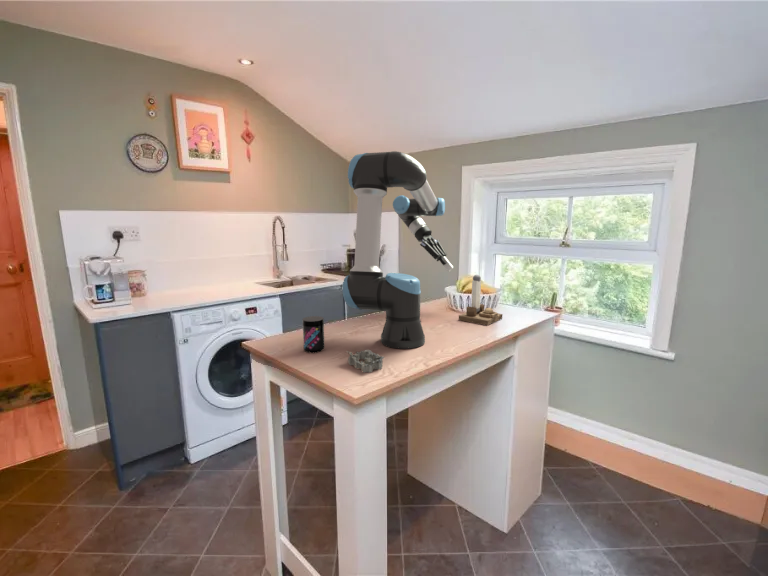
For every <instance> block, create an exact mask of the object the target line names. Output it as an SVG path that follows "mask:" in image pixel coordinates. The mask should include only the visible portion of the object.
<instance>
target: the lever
mask: <svg viewBox="0 0 768 576" xmlns="http://www.w3.org/2000/svg"><path fill="white" fill-rule="evenodd" d="M481 289H482V279H481V276H480V275H479V274H474V275H473V277H472V280H471V301H470V302H471V305H470V307H476V308H477V309H476V313H477V312H479V311H480V304H481V295H482V294H481V293H482V291H481Z"/></svg>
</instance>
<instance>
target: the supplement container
mask: <svg viewBox="0 0 768 576" xmlns="http://www.w3.org/2000/svg"><path fill="white" fill-rule="evenodd" d="M324 318H325V317H324V316H319V315H315V316H314V315H312V316H311V315H310V316H306V317H303V318H302V332H303V333H302V337H303V351H305V352H306V353H309V352H311V353H312V354H314V353H315V352H316V353H319V352H323V351H324V349H325V323H324V321H325V319H324ZM313 352H314V353H313Z"/></svg>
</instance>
